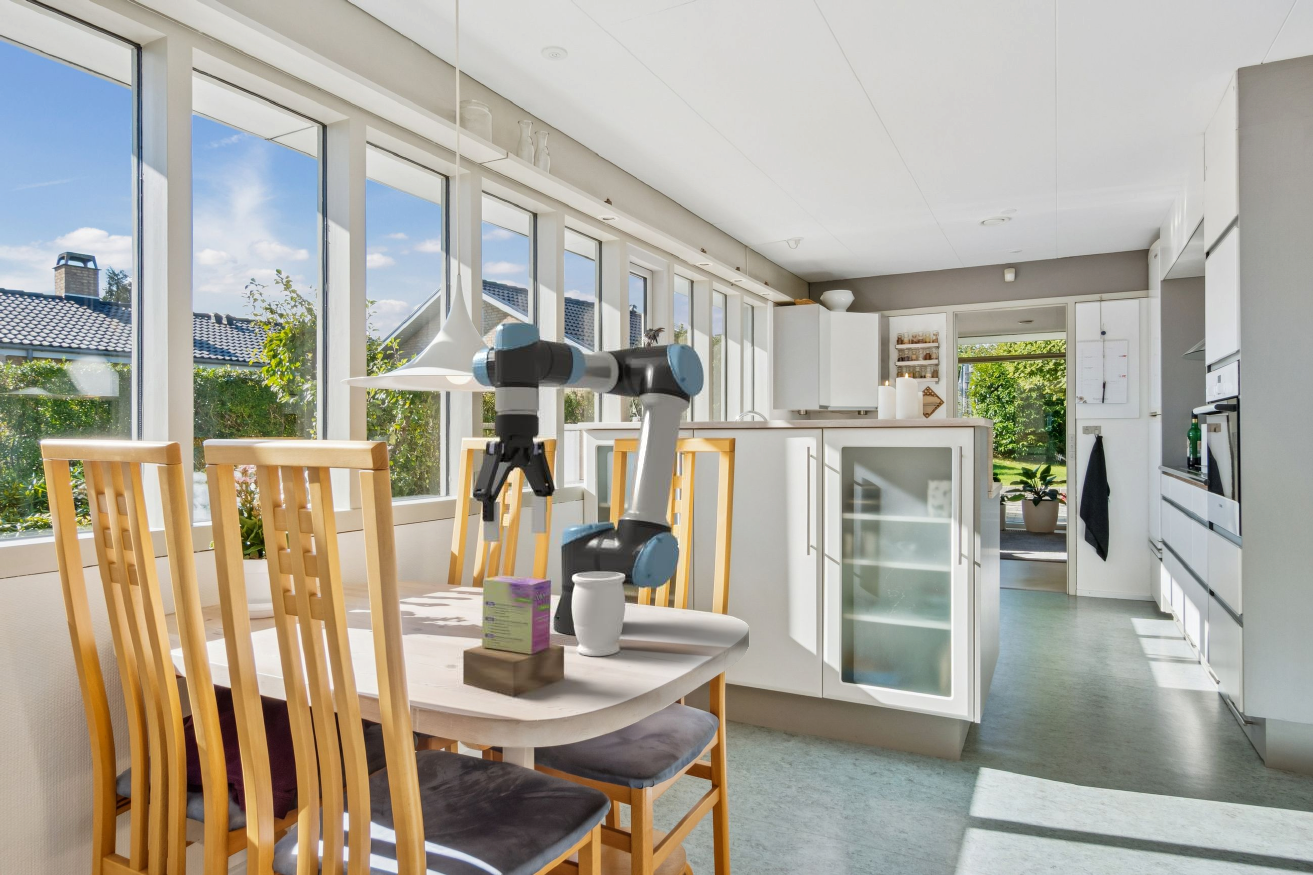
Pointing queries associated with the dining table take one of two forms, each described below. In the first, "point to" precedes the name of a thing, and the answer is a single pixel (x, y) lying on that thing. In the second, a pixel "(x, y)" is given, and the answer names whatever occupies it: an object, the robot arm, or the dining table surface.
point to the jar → (598, 611)
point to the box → (516, 614)
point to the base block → (512, 669)
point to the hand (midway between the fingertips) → (516, 537)
